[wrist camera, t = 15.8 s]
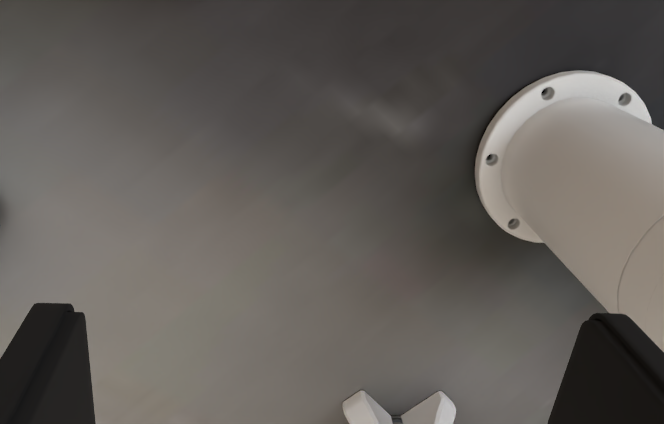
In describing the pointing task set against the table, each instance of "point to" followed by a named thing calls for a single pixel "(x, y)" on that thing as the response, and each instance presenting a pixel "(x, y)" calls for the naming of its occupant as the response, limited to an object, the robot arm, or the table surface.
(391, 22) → the table surface
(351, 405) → the grey tall piece
